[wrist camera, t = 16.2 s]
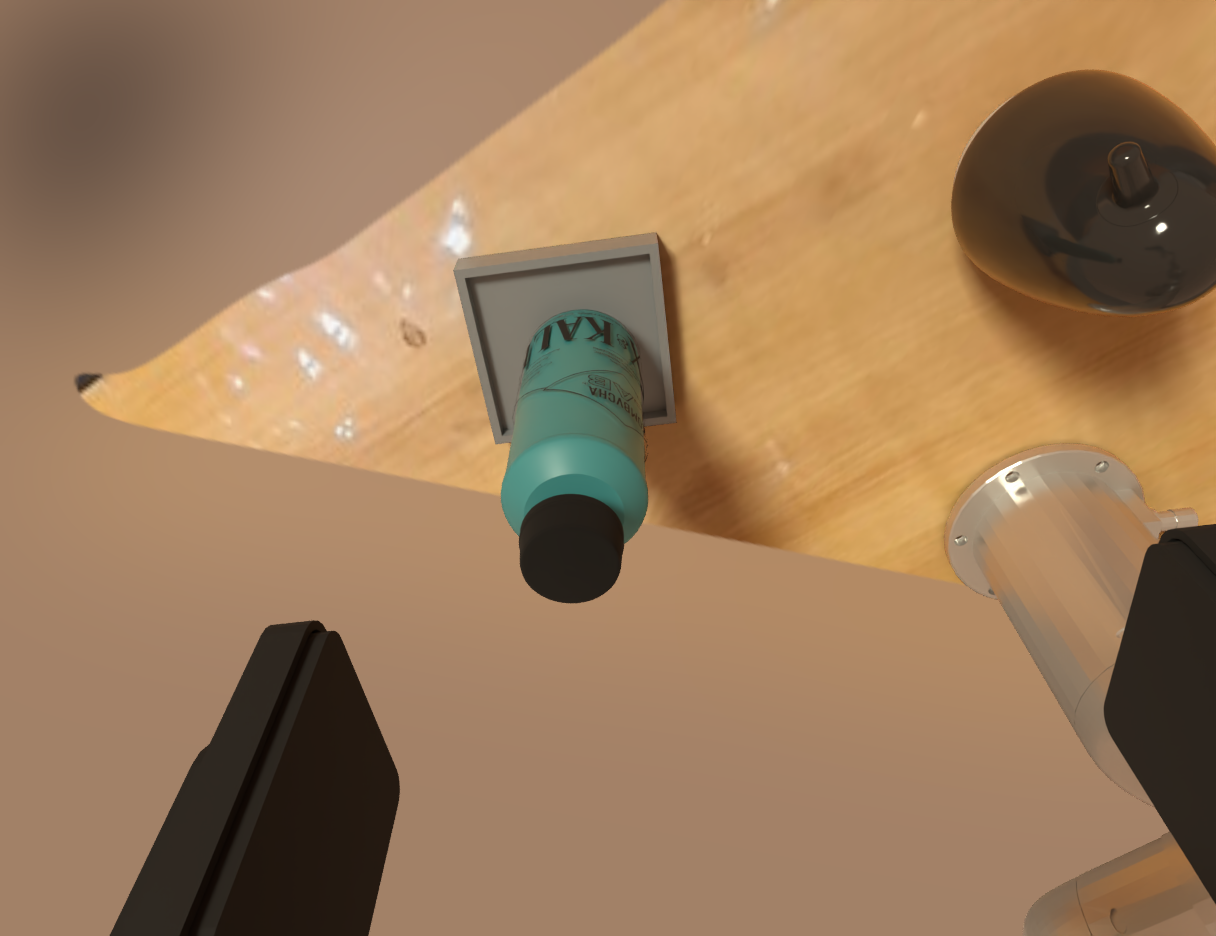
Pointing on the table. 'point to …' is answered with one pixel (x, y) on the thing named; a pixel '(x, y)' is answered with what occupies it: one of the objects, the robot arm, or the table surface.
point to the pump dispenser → (1091, 197)
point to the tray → (558, 282)
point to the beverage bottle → (577, 456)
